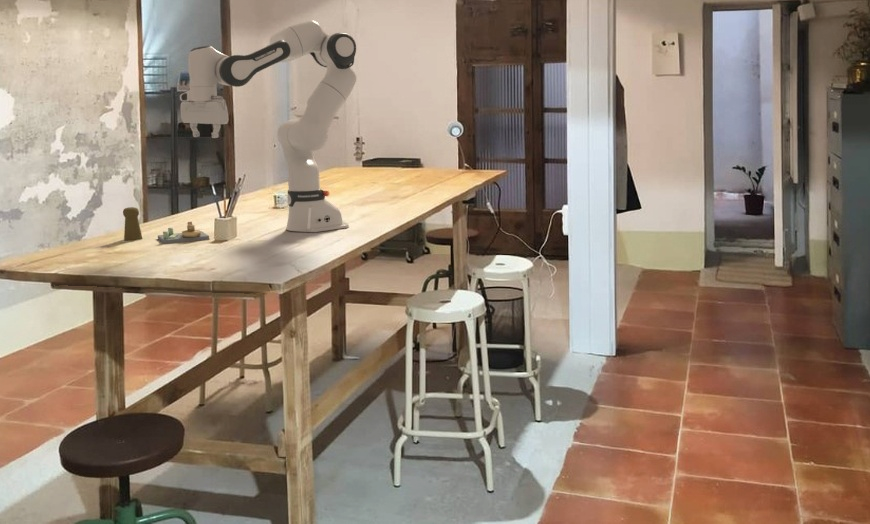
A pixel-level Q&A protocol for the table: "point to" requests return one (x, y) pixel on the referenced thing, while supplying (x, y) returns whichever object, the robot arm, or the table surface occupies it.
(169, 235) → the board
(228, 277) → the table surface
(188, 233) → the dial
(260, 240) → the table surface
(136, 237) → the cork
